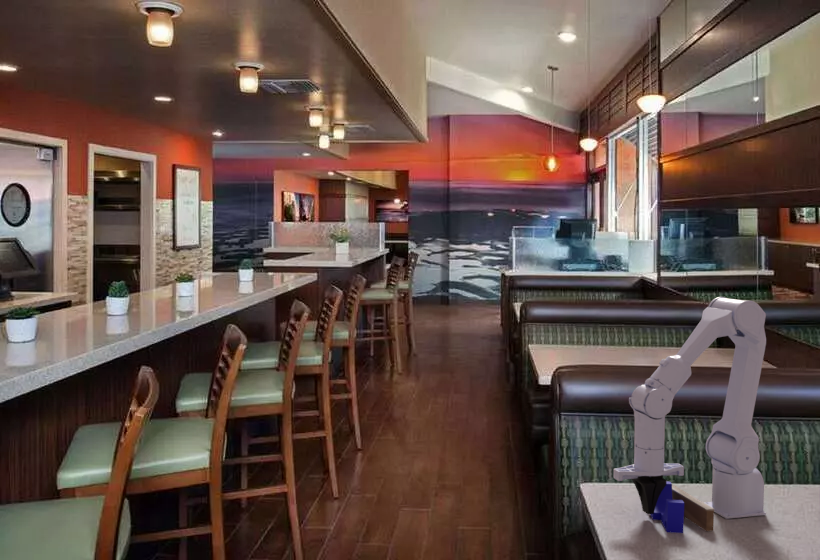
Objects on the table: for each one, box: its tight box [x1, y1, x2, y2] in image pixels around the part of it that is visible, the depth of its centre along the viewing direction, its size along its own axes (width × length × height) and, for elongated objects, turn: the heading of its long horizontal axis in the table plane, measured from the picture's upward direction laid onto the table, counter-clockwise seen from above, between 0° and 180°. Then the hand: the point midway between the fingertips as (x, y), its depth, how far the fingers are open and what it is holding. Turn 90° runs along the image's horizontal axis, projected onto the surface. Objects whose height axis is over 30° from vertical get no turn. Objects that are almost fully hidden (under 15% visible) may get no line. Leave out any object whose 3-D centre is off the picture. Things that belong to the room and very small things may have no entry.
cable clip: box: [649, 480, 685, 534], centre depth 144 cm, size 12×4×6 cm, turn 172°
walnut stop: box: [672, 483, 715, 532], centre depth 146 cm, size 2×16×4 cm, turn 13°
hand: (648, 512), depth 144 cm, fingers closed
